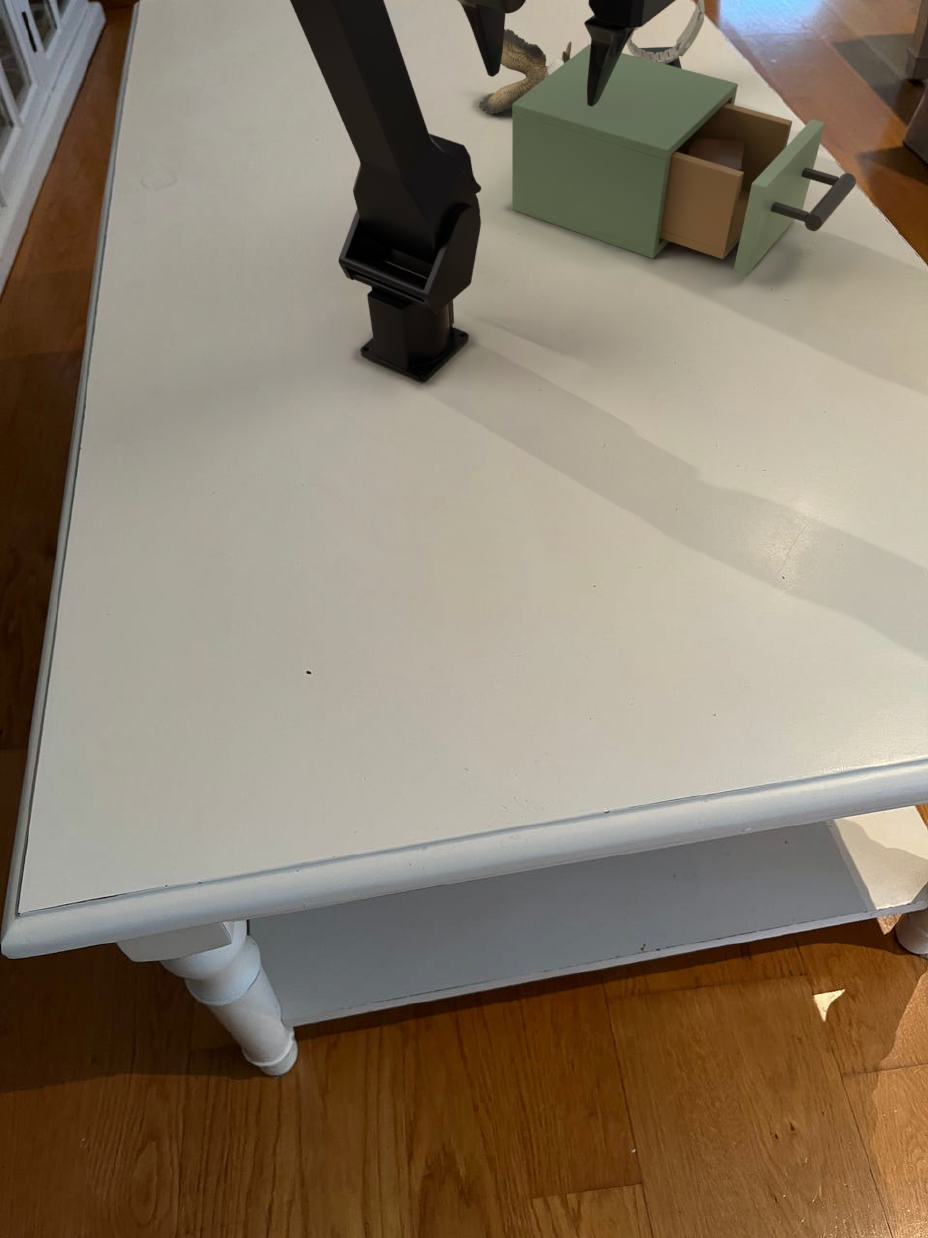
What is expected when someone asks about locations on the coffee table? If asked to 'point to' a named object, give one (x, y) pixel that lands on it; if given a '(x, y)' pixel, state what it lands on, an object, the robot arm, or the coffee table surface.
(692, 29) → the watch
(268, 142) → the coffee table surface
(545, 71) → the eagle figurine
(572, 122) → the cabinet
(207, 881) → the coffee table surface
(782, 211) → the drawer
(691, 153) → the block
